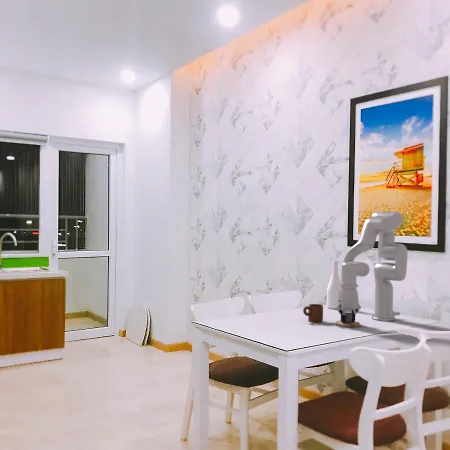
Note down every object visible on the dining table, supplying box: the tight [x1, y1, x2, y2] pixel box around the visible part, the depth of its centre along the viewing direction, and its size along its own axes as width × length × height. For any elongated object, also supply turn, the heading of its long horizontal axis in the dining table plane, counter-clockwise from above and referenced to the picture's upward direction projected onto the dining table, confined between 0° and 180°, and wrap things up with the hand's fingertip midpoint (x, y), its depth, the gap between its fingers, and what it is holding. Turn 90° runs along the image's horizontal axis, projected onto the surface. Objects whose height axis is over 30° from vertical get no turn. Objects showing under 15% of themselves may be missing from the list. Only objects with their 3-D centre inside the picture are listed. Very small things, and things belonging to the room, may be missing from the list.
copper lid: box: [335, 311, 361, 327], centre depth 256 cm, size 12×12×6 cm
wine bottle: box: [326, 259, 341, 310], centre depth 311 cm, size 10×10×30 cm
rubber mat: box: [328, 322, 368, 330], centre depth 256 cm, size 15×14×1 cm
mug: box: [302, 303, 324, 324], centre depth 263 cm, size 12×8×9 cm, turn 119°
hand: (347, 321), depth 256 cm, fingers open, 4 cm apart
